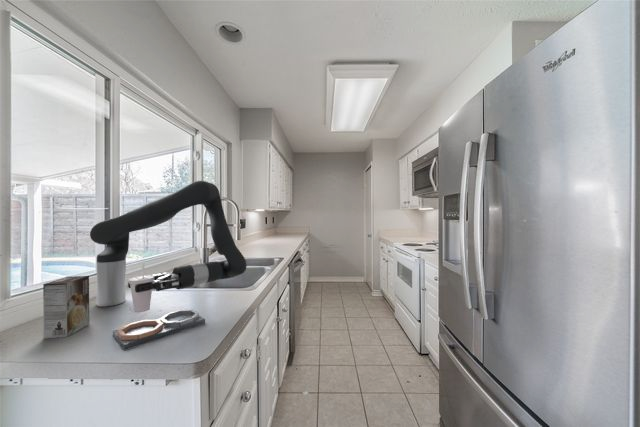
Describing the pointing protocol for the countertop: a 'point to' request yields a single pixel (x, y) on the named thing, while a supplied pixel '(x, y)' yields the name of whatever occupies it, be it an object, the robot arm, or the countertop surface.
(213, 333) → the countertop surface
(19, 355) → the countertop surface
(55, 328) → the coffee box
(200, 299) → the countertop surface
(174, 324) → the grey collar
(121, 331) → the terracotta collar
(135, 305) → the smoothie
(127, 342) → the dual ring board
